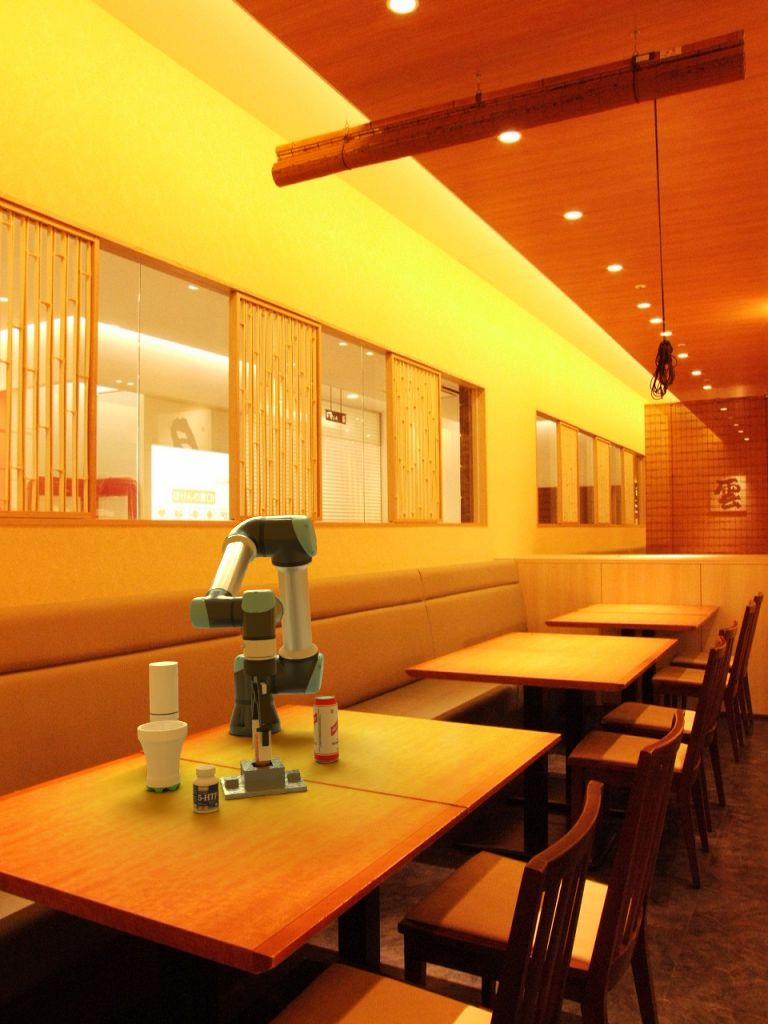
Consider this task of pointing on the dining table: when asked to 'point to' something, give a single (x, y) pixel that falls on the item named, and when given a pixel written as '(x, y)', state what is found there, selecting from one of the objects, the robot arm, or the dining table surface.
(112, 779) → the dining table surface
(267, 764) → the rounded pin
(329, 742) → the beer can
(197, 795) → the pill bottle
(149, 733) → the cup
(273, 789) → the grey socket base
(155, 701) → the cylindrical container
